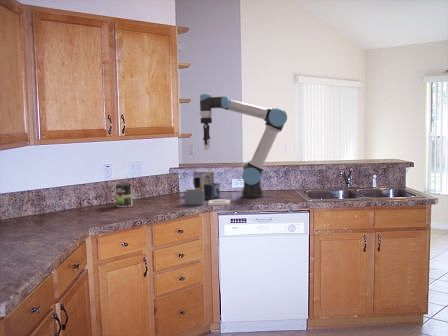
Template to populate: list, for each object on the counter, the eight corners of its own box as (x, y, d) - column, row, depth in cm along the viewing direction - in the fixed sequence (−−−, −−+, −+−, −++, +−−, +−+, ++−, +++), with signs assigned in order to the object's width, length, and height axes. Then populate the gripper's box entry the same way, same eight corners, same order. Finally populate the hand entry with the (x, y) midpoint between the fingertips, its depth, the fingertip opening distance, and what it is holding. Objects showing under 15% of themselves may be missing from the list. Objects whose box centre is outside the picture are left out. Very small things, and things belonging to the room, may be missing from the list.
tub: (204, 202, 319) (204, 189, 318) (203, 204, 311) (203, 191, 310) (186, 203, 319) (185, 189, 318) (185, 205, 311) (184, 191, 310)
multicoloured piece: (127, 207, 309) (126, 185, 308) (113, 206, 313) (112, 185, 311) (135, 204, 319) (134, 183, 317) (122, 204, 322) (121, 183, 321)
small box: (211, 200, 328) (210, 184, 327) (203, 199, 332) (203, 184, 331) (220, 197, 336) (220, 183, 335) (213, 197, 340) (212, 182, 339)
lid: (230, 202, 320) (230, 198, 320) (230, 205, 308) (229, 201, 308) (209, 203, 320) (209, 198, 320) (208, 206, 308) (208, 201, 308)
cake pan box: (193, 193, 358) (192, 170, 356) (198, 193, 361) (197, 169, 359) (210, 196, 344) (209, 171, 342) (215, 195, 347) (214, 171, 345)
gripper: (202, 117, 335) (203, 148, 337) (198, 117, 310) (199, 150, 313) (212, 117, 335) (213, 147, 337) (210, 117, 310) (211, 150, 312)
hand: (207, 149), depth 325 cm, fingers open, 13 cm apart
